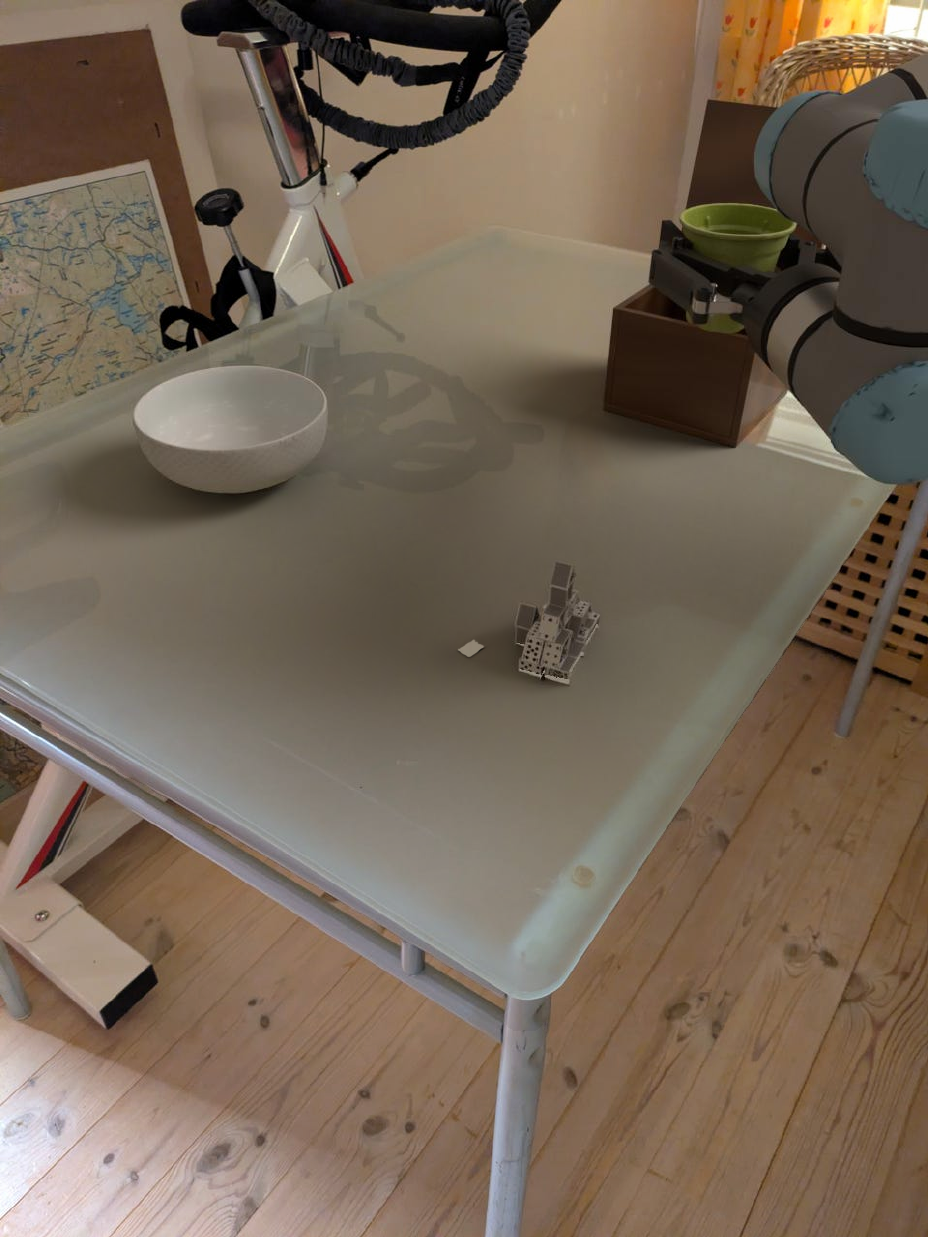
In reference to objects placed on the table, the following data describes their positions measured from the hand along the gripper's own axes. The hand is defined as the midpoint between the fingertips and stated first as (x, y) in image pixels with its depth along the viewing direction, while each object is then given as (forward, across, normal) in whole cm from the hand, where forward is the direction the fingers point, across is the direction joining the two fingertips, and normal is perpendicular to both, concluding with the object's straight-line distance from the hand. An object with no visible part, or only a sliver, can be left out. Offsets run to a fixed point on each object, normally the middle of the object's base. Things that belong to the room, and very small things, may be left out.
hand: (714, 234), depth 83 cm
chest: (+7, +3, -19) cm, 21 cm away
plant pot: (-5, 0, -6) cm, 8 cm away
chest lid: (+13, +9, 0) cm, 16 cm away
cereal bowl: (-4, -43, -19) cm, 48 cm away
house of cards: (-30, -20, -19) cm, 41 cm away
